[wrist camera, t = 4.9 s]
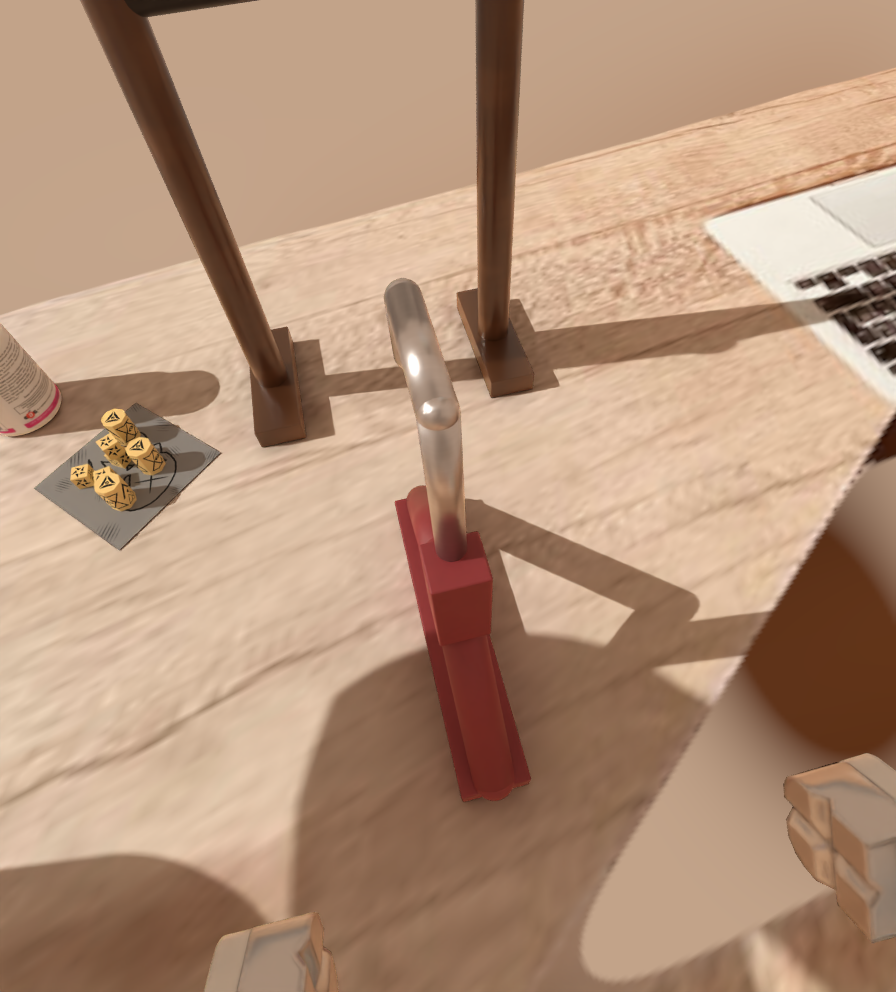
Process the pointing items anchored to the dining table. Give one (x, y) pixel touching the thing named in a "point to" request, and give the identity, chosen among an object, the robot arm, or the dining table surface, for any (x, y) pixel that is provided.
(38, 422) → the pill bottle
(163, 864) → the dining table surface
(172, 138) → the rail
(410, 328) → the hanger
